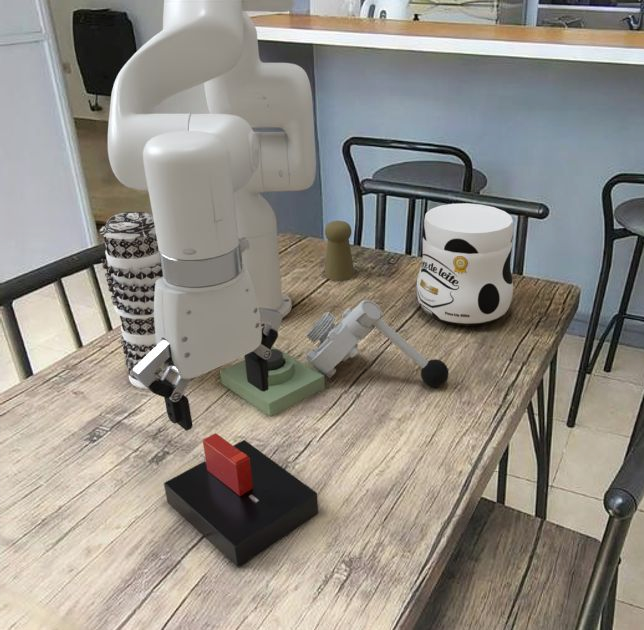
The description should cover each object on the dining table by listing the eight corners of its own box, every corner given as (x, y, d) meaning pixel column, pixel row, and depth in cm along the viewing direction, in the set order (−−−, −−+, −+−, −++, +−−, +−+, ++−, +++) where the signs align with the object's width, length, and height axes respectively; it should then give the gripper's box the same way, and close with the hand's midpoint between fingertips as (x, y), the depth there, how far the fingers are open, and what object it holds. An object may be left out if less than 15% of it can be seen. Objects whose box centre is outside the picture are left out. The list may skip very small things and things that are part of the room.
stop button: (253, 365, 100) (252, 355, 99) (273, 356, 102) (272, 346, 101) (268, 374, 98) (267, 364, 97) (288, 365, 100) (287, 354, 99)
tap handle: (206, 470, 80) (201, 438, 78) (220, 463, 81) (215, 431, 79) (240, 496, 76) (235, 463, 74) (253, 488, 77) (249, 455, 75)
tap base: (165, 501, 80) (161, 480, 78) (244, 457, 87) (242, 437, 85) (237, 568, 71) (234, 546, 70) (318, 512, 78) (317, 491, 77)
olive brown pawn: (343, 266, 141) (342, 215, 136) (360, 275, 137) (359, 224, 132) (318, 273, 138) (316, 221, 133) (335, 283, 134) (333, 230, 129)
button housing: (221, 383, 102) (217, 360, 100) (275, 358, 108) (273, 336, 106) (270, 416, 95) (268, 392, 93) (325, 387, 101) (324, 365, 99)
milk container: (402, 324, 119) (404, 227, 111) (432, 284, 134) (435, 196, 126) (499, 341, 115) (508, 241, 106) (518, 299, 129) (528, 208, 121)
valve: (382, 443, 105) (445, 396, 97) (284, 360, 101) (341, 303, 93) (401, 402, 113) (461, 355, 105) (311, 324, 110) (365, 269, 102)
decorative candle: (177, 392, 99) (149, 230, 88) (115, 388, 100) (79, 227, 88) (199, 359, 107) (176, 208, 96) (141, 356, 108) (112, 205, 96)
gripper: (252, 229, 75) (265, 361, 83) (97, 277, 63) (130, 424, 71) (296, 248, 70) (305, 385, 78) (137, 304, 59) (167, 457, 67)
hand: (221, 404), depth 75 cm, fingers open, 9 cm apart
